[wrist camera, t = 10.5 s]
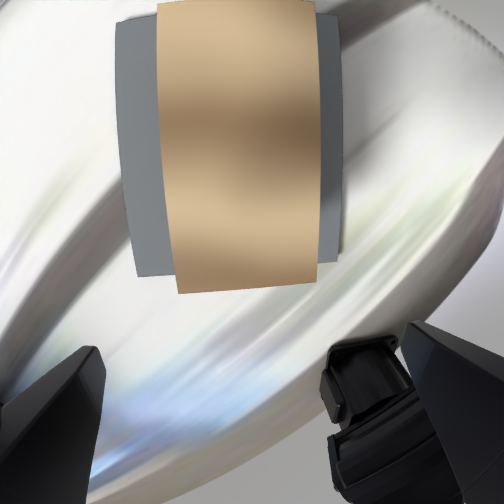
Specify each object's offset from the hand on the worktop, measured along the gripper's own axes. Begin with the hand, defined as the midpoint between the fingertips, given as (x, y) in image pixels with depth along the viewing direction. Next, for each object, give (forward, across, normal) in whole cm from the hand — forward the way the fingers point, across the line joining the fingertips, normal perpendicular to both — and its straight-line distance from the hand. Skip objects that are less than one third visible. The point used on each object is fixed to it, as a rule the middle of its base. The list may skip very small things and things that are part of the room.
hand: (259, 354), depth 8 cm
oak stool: (+11, 0, -5) cm, 12 cm away
